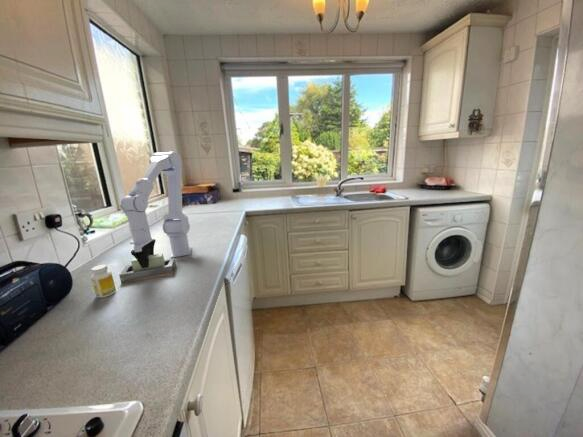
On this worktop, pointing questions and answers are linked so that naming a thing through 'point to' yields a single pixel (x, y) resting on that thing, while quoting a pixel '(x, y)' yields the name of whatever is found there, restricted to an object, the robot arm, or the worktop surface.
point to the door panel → (154, 261)
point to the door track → (147, 272)
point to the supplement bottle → (102, 281)
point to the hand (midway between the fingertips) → (148, 263)
